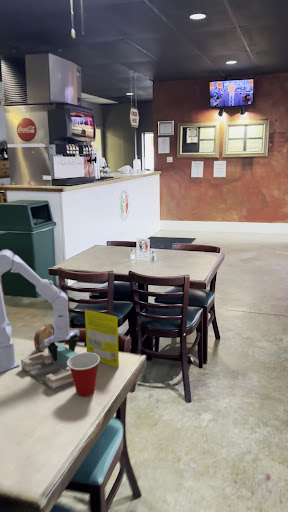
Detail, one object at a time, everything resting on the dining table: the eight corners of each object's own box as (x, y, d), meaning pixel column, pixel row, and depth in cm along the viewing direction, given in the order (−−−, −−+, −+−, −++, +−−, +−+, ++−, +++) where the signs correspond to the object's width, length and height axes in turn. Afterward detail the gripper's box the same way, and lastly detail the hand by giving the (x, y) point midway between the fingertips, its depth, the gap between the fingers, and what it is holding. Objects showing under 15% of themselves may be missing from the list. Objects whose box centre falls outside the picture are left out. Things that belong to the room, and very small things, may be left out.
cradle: (21, 369, 163) (21, 359, 162) (45, 360, 169) (44, 351, 169) (53, 391, 147) (53, 380, 146) (78, 380, 154) (77, 370, 153)
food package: (119, 366, 164) (118, 316, 159) (117, 368, 163) (116, 317, 158) (87, 357, 172) (85, 309, 167) (86, 358, 171) (83, 310, 167)
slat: (48, 356, 174) (47, 344, 173) (56, 353, 176) (56, 341, 175) (70, 370, 162) (70, 357, 161) (79, 366, 165) (79, 354, 164)
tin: (40, 354, 175) (39, 334, 173) (33, 353, 176) (32, 334, 174) (55, 339, 190) (54, 321, 188) (48, 339, 190) (47, 320, 188)
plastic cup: (61, 393, 146) (59, 359, 143) (86, 381, 154) (85, 349, 151) (82, 405, 139) (81, 370, 136) (107, 391, 146) (106, 358, 144)
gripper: (50, 332, 158) (52, 367, 161) (83, 322, 168) (84, 354, 171) (40, 327, 163) (42, 360, 166) (72, 317, 173) (74, 349, 176)
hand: (63, 357), depth 169 cm, fingers open, 7 cm apart
